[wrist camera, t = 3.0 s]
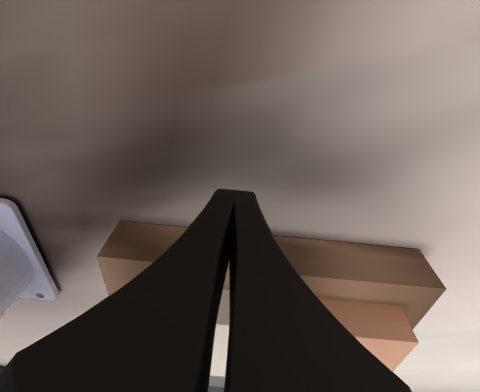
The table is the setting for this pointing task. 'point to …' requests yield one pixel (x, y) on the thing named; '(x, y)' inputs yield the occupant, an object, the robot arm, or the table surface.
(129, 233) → the walnut board
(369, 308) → the terracotta tile
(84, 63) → the table surface
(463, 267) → the table surface
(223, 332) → the ivory tile
